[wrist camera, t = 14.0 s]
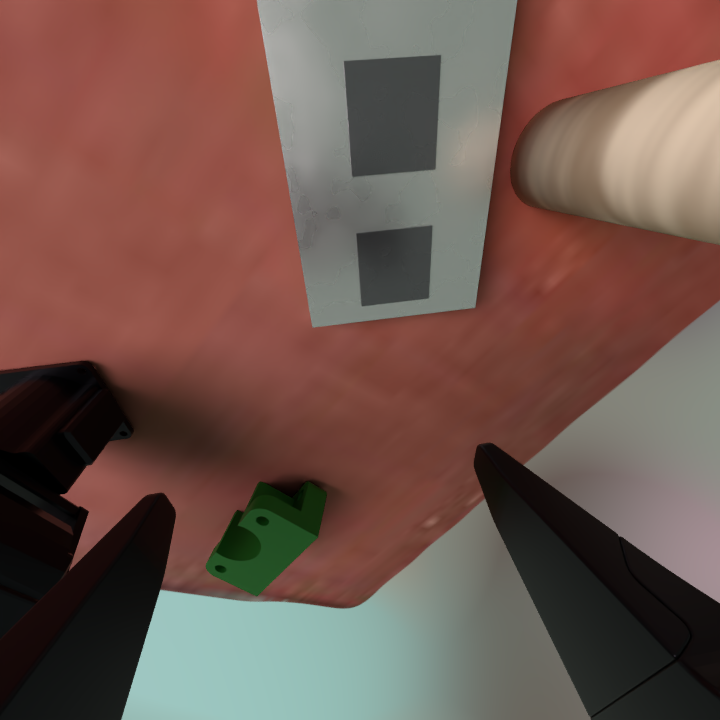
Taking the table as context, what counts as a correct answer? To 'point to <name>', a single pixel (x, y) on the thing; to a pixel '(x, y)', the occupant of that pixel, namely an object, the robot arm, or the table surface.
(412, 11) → the grey slotted plate
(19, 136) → the table surface
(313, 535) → the clamp
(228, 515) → the table surface
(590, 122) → the pin
